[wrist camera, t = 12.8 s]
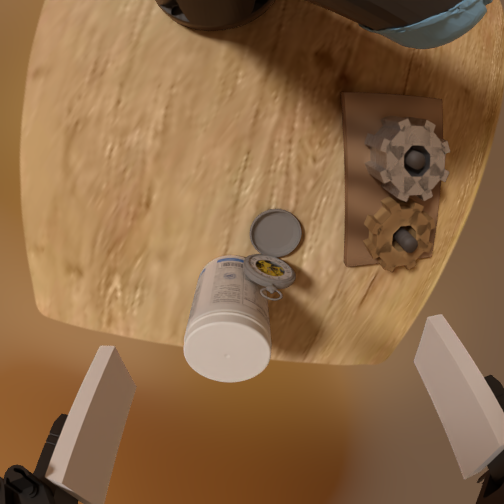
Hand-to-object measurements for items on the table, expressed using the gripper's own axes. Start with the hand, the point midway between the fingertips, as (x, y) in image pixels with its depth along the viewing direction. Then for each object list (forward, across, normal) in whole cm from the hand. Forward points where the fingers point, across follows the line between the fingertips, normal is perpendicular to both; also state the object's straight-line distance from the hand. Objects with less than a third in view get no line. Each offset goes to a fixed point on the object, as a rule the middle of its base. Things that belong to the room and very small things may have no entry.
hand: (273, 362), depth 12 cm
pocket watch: (+29, +1, -8) cm, 30 cm away
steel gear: (+27, +18, +3) cm, 33 cm away
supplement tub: (+29, -5, -14) cm, 32 cm away
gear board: (+29, +18, -1) cm, 34 cm away
